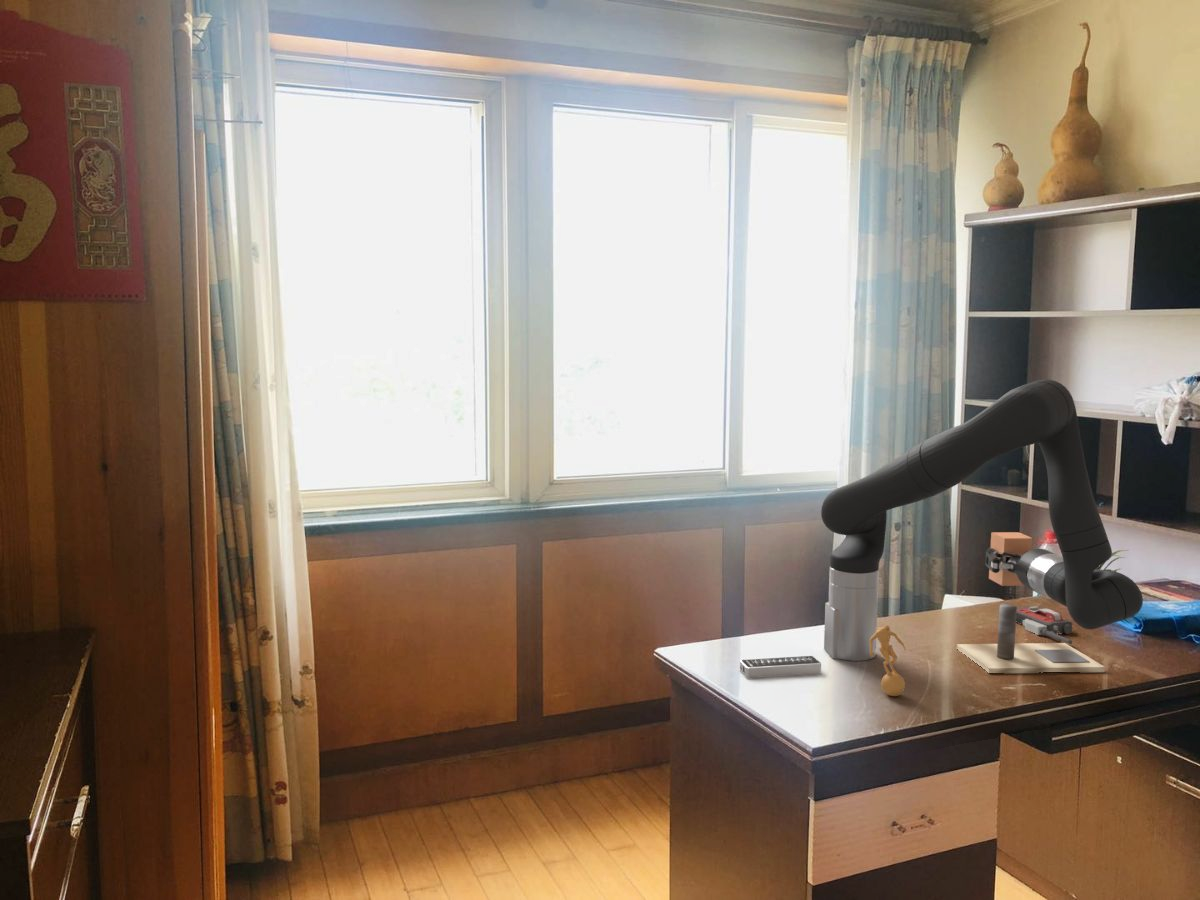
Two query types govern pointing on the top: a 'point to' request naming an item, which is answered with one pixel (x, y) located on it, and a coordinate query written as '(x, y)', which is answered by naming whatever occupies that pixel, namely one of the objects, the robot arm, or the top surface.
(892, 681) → the figurine
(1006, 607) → the post stand
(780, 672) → the multiport hub
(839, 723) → the top surface
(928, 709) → the top surface
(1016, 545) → the tall salmon pillar
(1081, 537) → the robot arm
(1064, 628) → the walkie-talkie
